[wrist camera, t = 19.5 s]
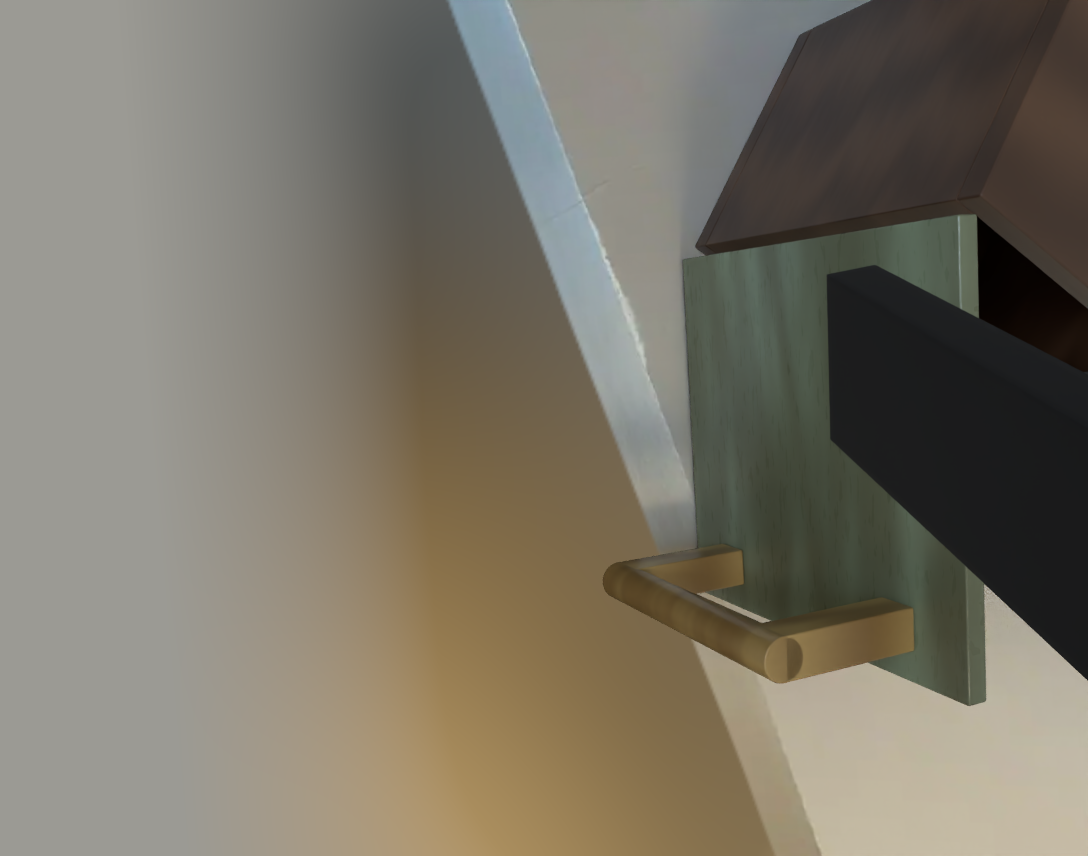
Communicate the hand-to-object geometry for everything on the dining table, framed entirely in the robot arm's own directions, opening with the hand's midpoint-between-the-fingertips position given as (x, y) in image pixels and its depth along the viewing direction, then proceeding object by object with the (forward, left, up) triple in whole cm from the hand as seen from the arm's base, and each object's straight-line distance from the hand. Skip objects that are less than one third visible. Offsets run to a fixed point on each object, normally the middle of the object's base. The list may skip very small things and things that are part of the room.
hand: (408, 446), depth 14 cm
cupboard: (-10, +30, -26) cm, 41 cm away
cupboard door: (+1, +18, -26) cm, 32 cm away
